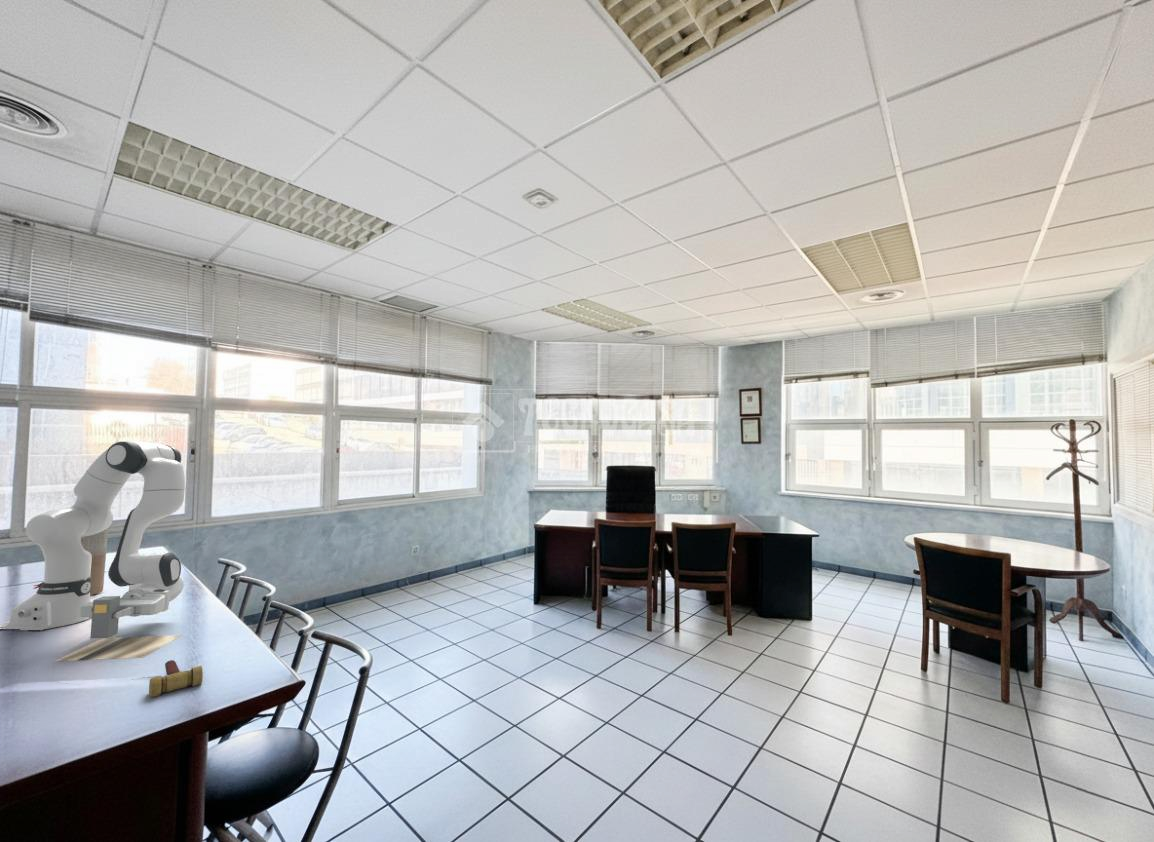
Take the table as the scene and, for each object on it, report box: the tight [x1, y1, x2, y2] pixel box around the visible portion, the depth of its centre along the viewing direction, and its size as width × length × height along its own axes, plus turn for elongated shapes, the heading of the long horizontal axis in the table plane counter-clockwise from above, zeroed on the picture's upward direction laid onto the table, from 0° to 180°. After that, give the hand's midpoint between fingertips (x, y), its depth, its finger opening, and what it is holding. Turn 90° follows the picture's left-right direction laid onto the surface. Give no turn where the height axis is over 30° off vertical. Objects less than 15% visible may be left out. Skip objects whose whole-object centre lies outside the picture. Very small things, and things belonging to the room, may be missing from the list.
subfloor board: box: [53, 634, 183, 662], centre depth 138 cm, size 22×16×2 cm
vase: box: [81, 527, 109, 596], centre depth 191 cm, size 10×10×28 cm
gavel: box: [148, 659, 204, 698], centre depth 124 cm, size 21×5×10 cm
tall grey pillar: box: [89, 595, 121, 640], centre depth 138 cm, size 4×4×11 cm
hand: (103, 616), depth 137 cm, fingers closed on tall grey pillar, 4 cm apart
